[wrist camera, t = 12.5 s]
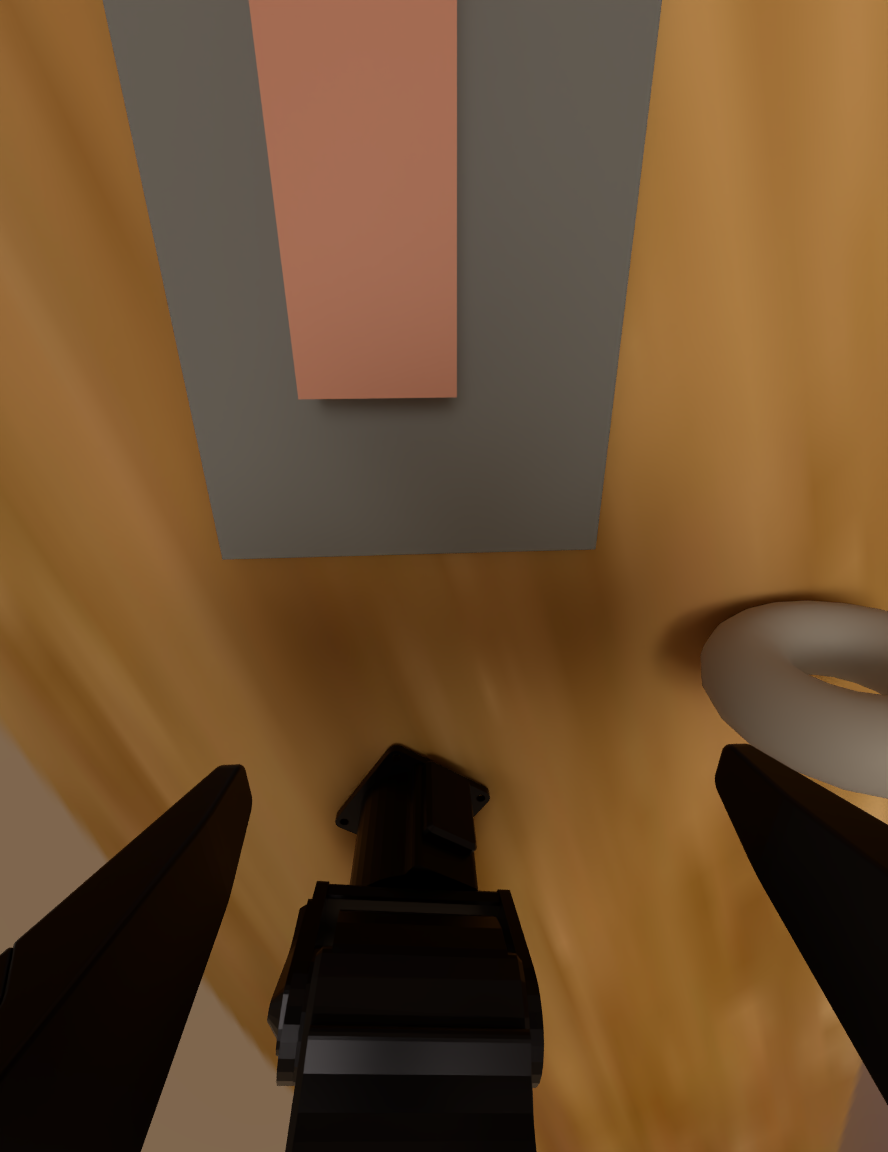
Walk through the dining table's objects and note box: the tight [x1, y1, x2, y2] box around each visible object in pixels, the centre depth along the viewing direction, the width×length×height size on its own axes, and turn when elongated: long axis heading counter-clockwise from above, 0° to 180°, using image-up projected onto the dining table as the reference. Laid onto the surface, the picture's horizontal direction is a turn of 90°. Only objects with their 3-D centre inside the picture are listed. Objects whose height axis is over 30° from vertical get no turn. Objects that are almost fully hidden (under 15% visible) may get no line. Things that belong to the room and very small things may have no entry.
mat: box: [103, 0, 662, 559], centre depth 17 cm, size 20×16×1 cm
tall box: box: [249, 0, 457, 399], centre depth 14 cm, size 3×5×12 cm
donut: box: [701, 600, 888, 799], centre depth 18 cm, size 10×3×10 cm, turn 98°
